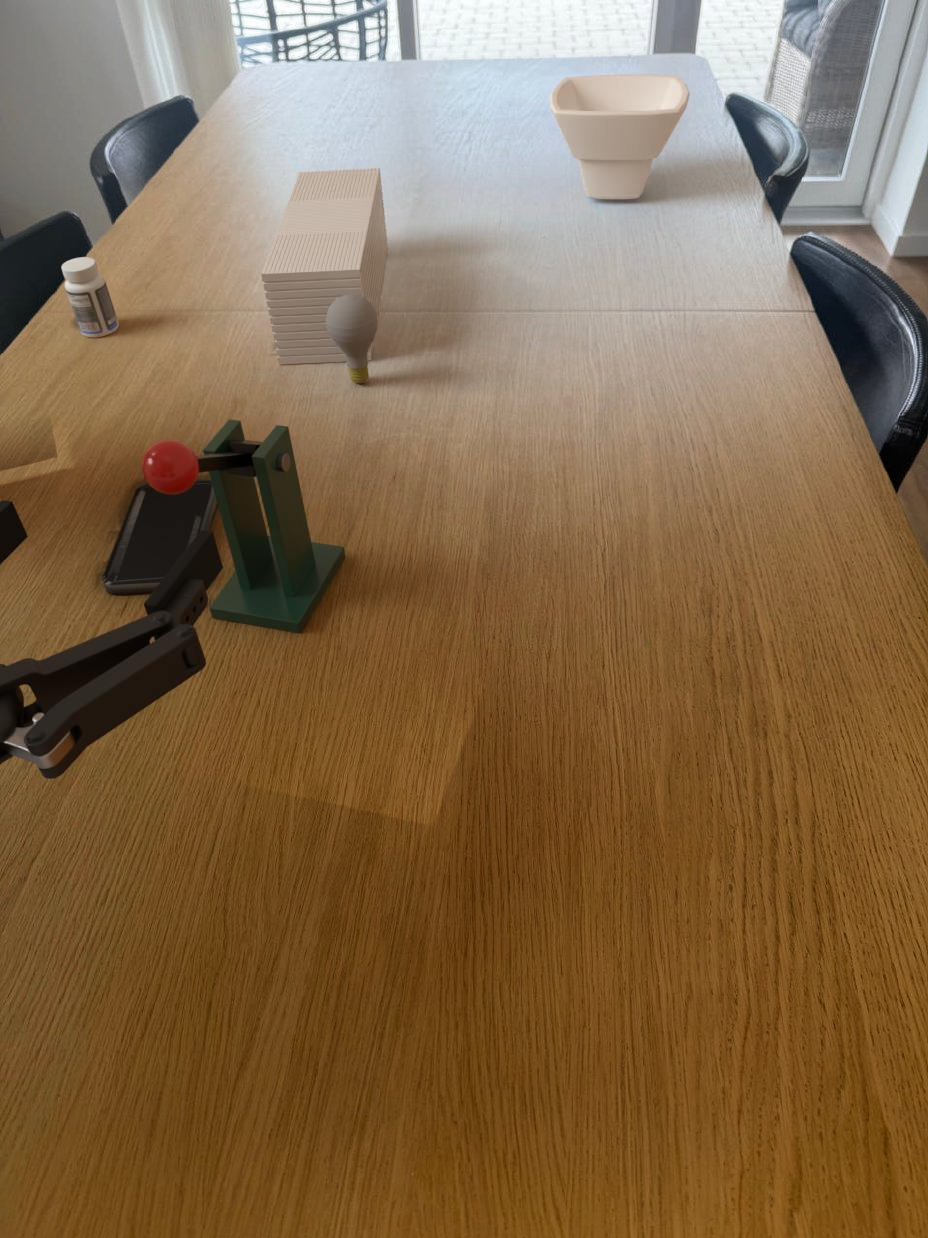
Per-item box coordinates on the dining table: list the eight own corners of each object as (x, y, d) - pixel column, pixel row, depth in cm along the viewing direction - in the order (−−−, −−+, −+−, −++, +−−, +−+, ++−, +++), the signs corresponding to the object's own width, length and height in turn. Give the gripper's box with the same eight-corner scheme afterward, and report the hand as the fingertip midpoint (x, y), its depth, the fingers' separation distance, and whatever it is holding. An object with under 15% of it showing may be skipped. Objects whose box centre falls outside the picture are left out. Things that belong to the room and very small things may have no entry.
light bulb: (354, 400, 104) (341, 313, 98) (326, 382, 108) (312, 296, 101) (394, 382, 107) (385, 296, 100) (366, 365, 110) (355, 280, 103)
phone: (98, 585, 82) (138, 482, 93) (102, 595, 83) (141, 492, 93) (191, 580, 82) (219, 478, 93) (194, 590, 82) (222, 488, 93)
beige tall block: (312, 252, 135) (299, 171, 127) (388, 248, 134) (379, 167, 127) (279, 364, 111) (261, 273, 104) (371, 360, 111) (359, 268, 103)
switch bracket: (300, 633, 78) (266, 482, 68) (212, 618, 80) (165, 468, 70) (346, 557, 85) (320, 409, 75) (263, 544, 87) (227, 398, 77)
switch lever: (179, 500, 62) (181, 443, 61) (130, 493, 62) (130, 437, 61) (279, 483, 75) (281, 436, 74) (237, 477, 76) (239, 431, 75)
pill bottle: (109, 317, 123) (89, 251, 117) (125, 329, 120) (105, 263, 114) (74, 329, 121) (51, 263, 115) (89, 342, 118) (67, 275, 112)
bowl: (679, 218, 137) (690, 111, 127) (543, 217, 140) (543, 112, 130) (679, 172, 150) (689, 73, 141) (554, 172, 153) (556, 74, 144)
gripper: (-306, 810, 49) (-37, 552, 64) (124, 926, 43) (311, 611, 58) (-404, 712, 44) (-87, 456, 58) (69, 827, 38) (290, 510, 53)
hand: (111, 532), depth 58 cm, fingers open, 13 cm apart
